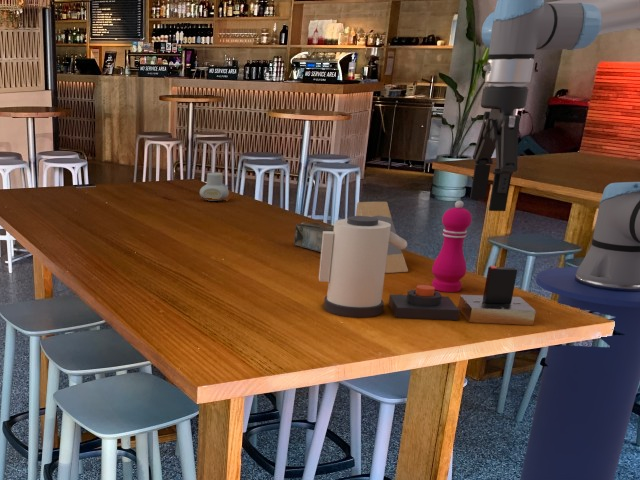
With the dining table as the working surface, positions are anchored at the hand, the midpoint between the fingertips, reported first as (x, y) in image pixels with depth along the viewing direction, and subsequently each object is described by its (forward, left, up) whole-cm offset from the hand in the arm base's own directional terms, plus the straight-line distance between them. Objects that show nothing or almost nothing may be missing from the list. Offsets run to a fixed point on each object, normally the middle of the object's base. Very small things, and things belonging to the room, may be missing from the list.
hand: (486, 204), depth 150 cm
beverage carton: (+23, -62, -23) cm, 70 cm away
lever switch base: (-6, -4, -23) cm, 24 cm away
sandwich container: (+11, -46, -23) cm, 53 cm away
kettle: (+22, -5, -23) cm, 32 cm away
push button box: (+8, -5, -23) cm, 25 cm away
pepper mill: (-1, -25, -23) cm, 34 cm away
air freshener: (+58, -144, -23) cm, 157 cm away
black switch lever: (-6, -4, -20) cm, 21 cm away
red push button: (+8, -5, -19) cm, 21 cm away
